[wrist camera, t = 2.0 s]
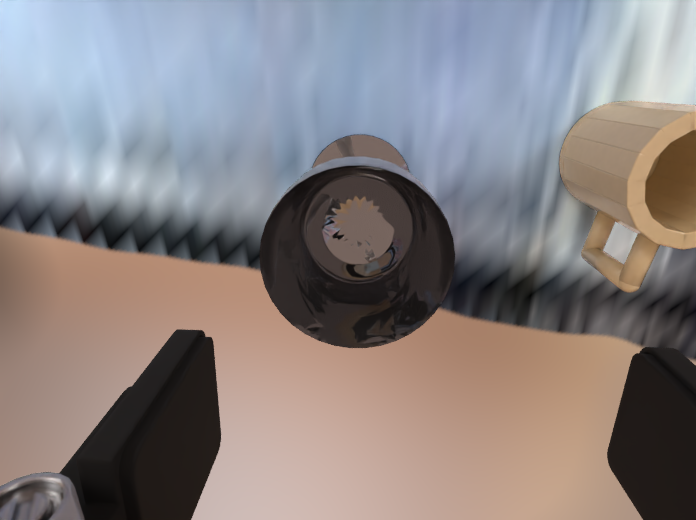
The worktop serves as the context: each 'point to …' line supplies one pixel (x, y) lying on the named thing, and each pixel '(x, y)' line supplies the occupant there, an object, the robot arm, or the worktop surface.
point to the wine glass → (357, 247)
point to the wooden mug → (634, 181)
